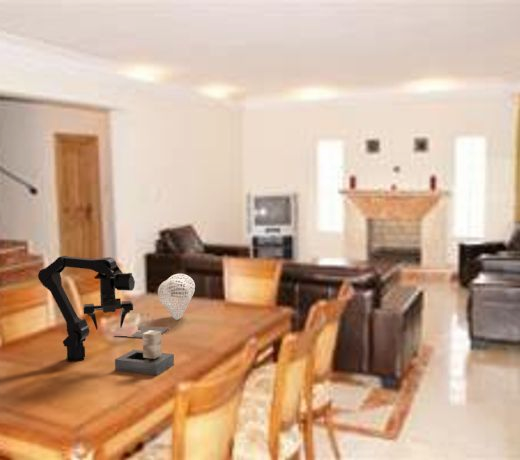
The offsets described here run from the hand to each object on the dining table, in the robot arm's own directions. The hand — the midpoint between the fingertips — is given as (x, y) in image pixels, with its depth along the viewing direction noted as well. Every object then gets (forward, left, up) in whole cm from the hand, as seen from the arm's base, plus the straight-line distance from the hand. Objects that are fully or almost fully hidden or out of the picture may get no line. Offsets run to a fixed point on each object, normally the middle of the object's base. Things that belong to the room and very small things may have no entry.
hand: (109, 328), depth 232 cm
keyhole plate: (+12, -13, -13) cm, 22 cm away
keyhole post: (+15, -15, -12) cm, 24 cm away
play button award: (+17, +37, -14) cm, 43 cm away
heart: (+37, +56, -13) cm, 68 cm away
